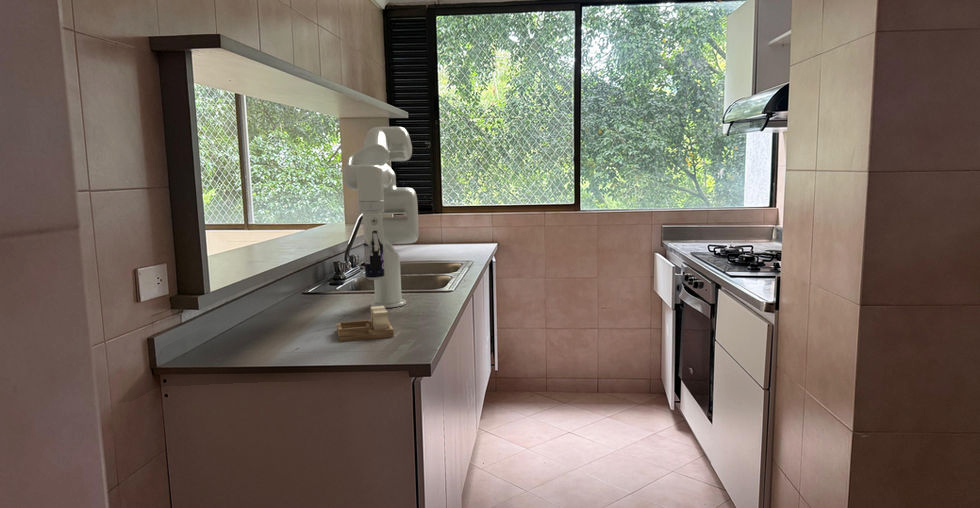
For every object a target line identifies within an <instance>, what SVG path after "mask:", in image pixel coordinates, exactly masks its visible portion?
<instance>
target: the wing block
mask: <svg viewBox="0 0 980 508" xmlns="http://www.w3.org/2000/svg"><path fill="white" fill-rule="evenodd" d="M370 321H371V326H372V328H373V330H380V329H389V328H388V321H389V312H388V310H387V308H385V307H384V306H374V307H373V306H370Z"/></svg>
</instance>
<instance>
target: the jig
mask: <svg viewBox="0 0 980 508" xmlns="http://www.w3.org/2000/svg"><path fill="white" fill-rule="evenodd" d="M388 328H389V329H380V330H373V328H372V326H371V320H369V319H365V320H364V319H363V320H353V321H351V320H350V321H342V322H341V321H340V322H336V331H337V332H336V333H337V337H338V341H339V342H340V343H341V342H342V343H343V342H351V341H362V340H373V339H383V338H394V337H395V336H394V328H393V327H392V324H391V322H390V321H389V320H388Z"/></svg>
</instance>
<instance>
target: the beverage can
mask: <svg viewBox="0 0 980 508" xmlns="http://www.w3.org/2000/svg"><path fill="white" fill-rule="evenodd" d="M379 242H380V241H379ZM371 245H374V243H372V244H371ZM379 245H380V255H381V269H370V256H371V254H370V246H368V245H367V242H366V240H365V241H363V256H364V257H363V258H364V275H365V278H367V280H370V281H374V280H379V279H382V277H383V276H384V254H383V245H381V243H379Z"/></svg>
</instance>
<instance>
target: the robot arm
mask: <svg viewBox="0 0 980 508" xmlns="http://www.w3.org/2000/svg"><path fill="white" fill-rule="evenodd" d="M361 147H362V148H361V149H359V150H358V151H355V152H354V153H352V154H351V155H350V156H349V157H348V158H347V160H346V162H345V167H344V170H343V181H344V184H345V186H346V188H348V189H350V190H352V191H357V206H358V207H357V208H358V213H361V214H362V229H363V239H364V241H363V242H365V240H366V242H367V245H368V246H370V254H371V256H370V269H381V255H380V245H379V243H381V245H383V254H384V276H383V277H382V279H379V280H373V283H374V284H373V285H374V299H373V300H371V302H370V307H374V306H384V307H385V309H388V308H397V307H403V306H404V305H406V304H407V300H406V299H404V298H403V297H402V278H401V264H400V263H401V257H400V254H399V251H397V249H396V248H394V246H393V245H401V244H402V245H403V244H406V245H407V244H413V243H416V242H417V241H418V238H419V210H418V209H419V206H418V205H419V204H418V196H417V193H416V190H415V189H414V188H412V187H407V186H406V187H405V186H404V187H397V180H396V179H397V177H396V173H395V171H394V170H393V169H392V167H391V166H390V165H388V162H404V161H409V160H410V159H411V158H412V155H413V145H412V141H411V137H410V134H409V132H408V131H407V129H406V128H405V127H402V126H376V127H375V126H374V127H372V128H370V129H369V130H368V131H367V133H366V135H365V139H364V140H363V143H362V146H361ZM399 214H401V215H404V216H399V217H398V216H397V217H394V216H392V217H391V216H390V217H389V216H387V217H383V215H399ZM379 241H380V242H379ZM372 243H374V245H371V244H372Z"/></svg>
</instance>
